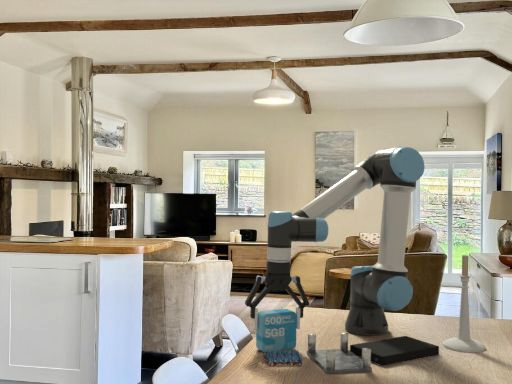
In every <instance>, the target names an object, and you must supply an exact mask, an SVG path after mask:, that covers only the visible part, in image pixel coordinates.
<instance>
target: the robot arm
mask: <svg viewBox="0 0 512 384" xmlns="http://www.w3.org/2000/svg"><path fill="white" fill-rule="evenodd" d="M424 173H425V161H424V159H423V156H422V155H421V153H420V152H419V151H418V150H417V149H415V148H413V147H411V146H410V147H409V146H397V147H390V148H383V149H379V150H377V151H376V152H374V153H372V154H371V155H369V156H368V157H366V158H365V159H364V160H362V161H361V162H360V163H358V164H357V165H355V166H354V167H353V171H351V172H350V173H349V174H347V176H345V177H343V178H342V179H340V180H339V181H338V182H336V183H335V184H333V185H332V186H331V187H329V188H328V189H326V190H325V191H323V192H322V193H321V194H320V195H318V196H317V197H316V198H314V199H312V200H311V201H310V202H308V203H307V204H306V205H304V206H302V207H301V208H299V210H296V212H294V213H292V212H291V211H281V210H280V211H279V210H273V211H272V210H271V211H270V212H269V214H268V218H267V244H266V246H267V248H266V249H267V251H266V259H267V261H266V267H265V268H266V271H265V276H261V275H256V276H255V282H254V284H253V286H252V288H251V290H250V292H249V293H248V296H247V298H246V299H245V301H244V305H245V306H246V307H248V308H249V309H250V314H249V316H250V318H251V319H253V320H252V321H253V323H252V324H253V325H252V329H254V330H255V331H256V330H257V321H258V312H259V309H258V307H257V306H258V305H259V304H260V303H261V301H262V300H263V299H264V298H265V297H266V296H267V295H268V294H269V293H270V292H271V291H273V292H277V291H280V292H283V291H285V290H286V292H287V294H289V295H290V297H291V298H292V299H293V300H294V302H295V303H296V304H297V306H295V313H296V316H297V320H296V330H300V329H301V319H303V318H304V308H306V307H308V306H310V302H309V300H308V297H307V295H306V292H305V290H304V288H303V285H302V283H301V277H300V276H299V275H295V276H291V260H292V242H295V243H296V242H297V243H298V242H299V243H301V242H302V243H303V242H305V243H306V242H307V243H319V242H321V243H322V242H324V241H326V240H327V238H328V236H329V225H328V222H327V220H326V218H327V217H329V216H330V215H332V214H333V213H335V211H337V210H338V209H340V208H341V207H343V206H344V205H345V204H347V203H349V202H350V201H351V200H352V199H354V198H355V197H357V196H358V195H360V194H361V193H362V192H364V191H365V190H370V189H372V188H374V187H376V186H377V185H379V184H380V185H379V186H380V187H381V189H382V190H383V199H382V200H383V202H382V212H381V223H380V231H379V232H380V234H379V242H378V243H379V245H378V254H377V262H376V263H375V264H373V265H360V266H357V265H355V266H352V267H351V270H350V276H349V277H350V293H349V294H350V295H349V296H350V306H349V307H350V308H349V311H348V313H347V315H346V320H345V323H344V329H345V331H347V333H351V334H355V335H360V336H361V335H363V336H380V335H381V336H382V335H385V334H387V333H389V324H388V320H387V316H386V314H385V310H386V311H390V312H391V311H393V312H394V311H395V312H396V311H400V310H403V309H405V307H406V306H408V305H409V304H410V302H411V300H412V298H413V294H414V293H413V292H414V290H413V289H414V288H413V285H412V284H411V282H410V280H409V279H408V274H409V273H408V272H409V270H408V268H407V267H406V266H405V258H406V257H405V255H406V246H407V245H406V244H407V236H408V234H407V232H408V222H409V210H410V201H411V194H412V192H414V191H416V187H417V182H418V181H419V180H420V179H421V177H423V175H424ZM264 282H265V283H266V285H265V286H264V287H263V289H262V290H261V292H259V294H258V295H257V296H256V294H257V293H258V291H259V290H260V289H259V288H260V286H261V284H263V283H264ZM291 282H292V283H293V284H295V287H296V289H297V291H298V293H299V296H300V297H301V300H302V301H301V300H300V298H299V297H298V296H297V294H296V293H295V292H294V291H293V290H292V288H291V287H290V284H291ZM255 296H256V297H255Z"/></svg>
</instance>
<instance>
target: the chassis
mask: <svg viewBox="0 0 512 384" xmlns="http://www.w3.org/2000/svg"><path fill="white" fill-rule="evenodd" d="M339 334H340V343H339V345H340V346H339V348H334V349H332V348H331V349H317V347H316V346H317V344H316V343H317V334H316V333H308V334H307V350H306V354H307V356H308V357H309V358H310V359H311V360H312V361H314V363H315V364H316V365H317V366H318V367H319V368H321V369H322V371H323V372H324V373H325V374H328V375H329V374H331V375H332V374H347V373H348V374H349V373H366V372H367V373H368V372H372V371H373V368H372V362H371V349H370V348H362V358H361V357H358V356H356V355H355V354H353V353H352V352H351V351H350V349H349V332H340V333H339Z"/></svg>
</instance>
